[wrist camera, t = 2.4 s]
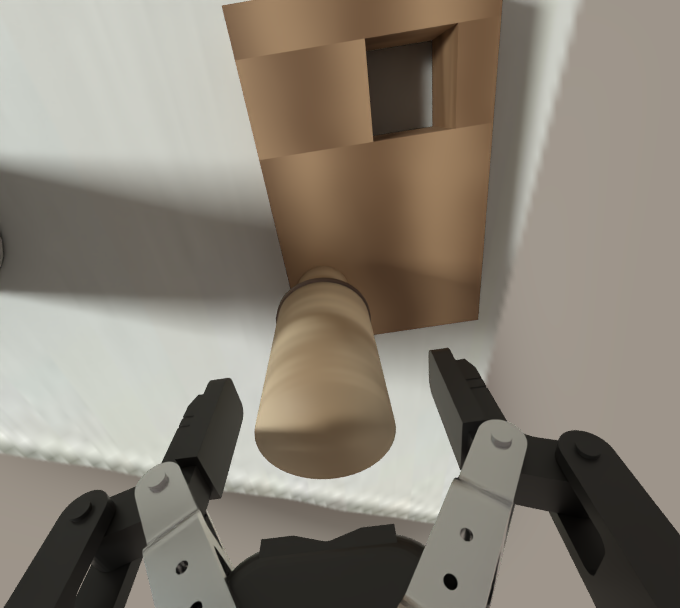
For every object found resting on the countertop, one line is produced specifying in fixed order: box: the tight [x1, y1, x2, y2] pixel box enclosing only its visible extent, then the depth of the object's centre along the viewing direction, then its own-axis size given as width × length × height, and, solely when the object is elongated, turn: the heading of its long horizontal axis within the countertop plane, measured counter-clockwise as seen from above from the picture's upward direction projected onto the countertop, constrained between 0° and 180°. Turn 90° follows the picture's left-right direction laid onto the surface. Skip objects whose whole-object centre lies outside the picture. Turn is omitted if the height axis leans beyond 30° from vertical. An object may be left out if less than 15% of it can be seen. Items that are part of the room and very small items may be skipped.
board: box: [222, 0, 503, 335], centre depth 20 cm, size 12×18×4 cm, turn 8°
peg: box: [255, 266, 396, 479], centre depth 16 cm, size 5×5×11 cm
